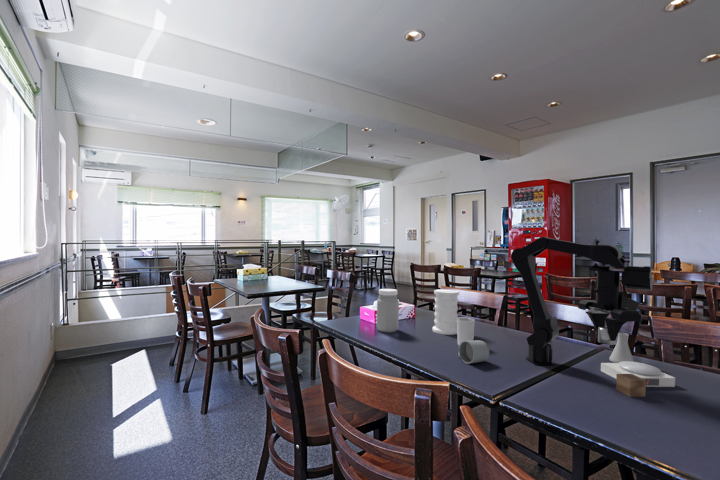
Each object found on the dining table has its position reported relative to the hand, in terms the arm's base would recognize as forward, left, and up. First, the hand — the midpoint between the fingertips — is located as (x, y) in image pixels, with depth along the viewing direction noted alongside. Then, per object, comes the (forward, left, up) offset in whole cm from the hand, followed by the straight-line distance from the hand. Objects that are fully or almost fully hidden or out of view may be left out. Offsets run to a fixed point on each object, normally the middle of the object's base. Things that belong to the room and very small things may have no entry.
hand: (606, 338), depth 107 cm
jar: (-60, +54, -12) cm, 81 cm away
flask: (+16, +14, -12) cm, 25 cm away
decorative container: (-34, +53, -12) cm, 64 cm away
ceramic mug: (-36, +15, -12) cm, 41 cm away
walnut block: (-1, -10, -12) cm, 16 cm away
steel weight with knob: (0, 0, -1) cm, 1 cm away
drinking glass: (-32, +33, -12) cm, 47 cm away
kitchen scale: (+9, 0, -12) cm, 15 cm away
